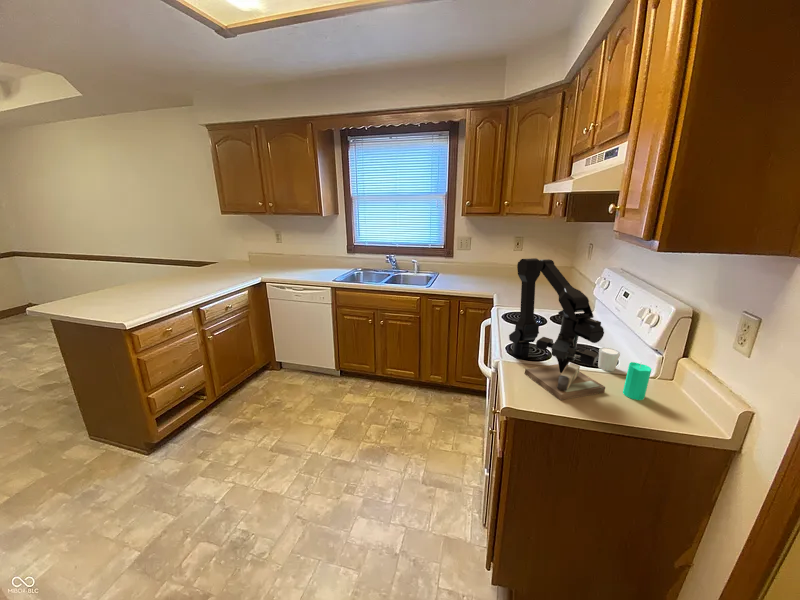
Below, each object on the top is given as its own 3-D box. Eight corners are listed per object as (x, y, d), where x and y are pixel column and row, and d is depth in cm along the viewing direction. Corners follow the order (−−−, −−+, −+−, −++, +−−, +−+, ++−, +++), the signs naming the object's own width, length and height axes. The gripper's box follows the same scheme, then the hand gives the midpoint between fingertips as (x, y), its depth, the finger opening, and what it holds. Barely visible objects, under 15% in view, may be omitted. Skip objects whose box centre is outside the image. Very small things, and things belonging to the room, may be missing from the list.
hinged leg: (565, 391, 111) (567, 380, 110) (555, 388, 113) (557, 377, 112) (578, 374, 122) (580, 365, 121) (569, 372, 124) (570, 362, 123)
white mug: (619, 372, 129) (623, 355, 128) (599, 370, 131) (603, 353, 129) (612, 364, 136) (616, 348, 134) (593, 362, 137) (596, 346, 135)
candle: (618, 392, 116) (625, 359, 113) (630, 389, 118) (638, 356, 115) (636, 401, 111) (644, 367, 107) (648, 398, 113) (657, 364, 110)
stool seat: (524, 373, 127) (525, 368, 126) (564, 367, 132) (565, 362, 132) (560, 400, 110) (561, 394, 110) (604, 392, 116) (605, 386, 115)
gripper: (532, 329, 117) (525, 370, 121) (593, 346, 105) (582, 391, 109) (545, 321, 125) (538, 360, 129) (603, 336, 113) (593, 379, 117)
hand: (561, 372), depth 121 cm, fingers closed
